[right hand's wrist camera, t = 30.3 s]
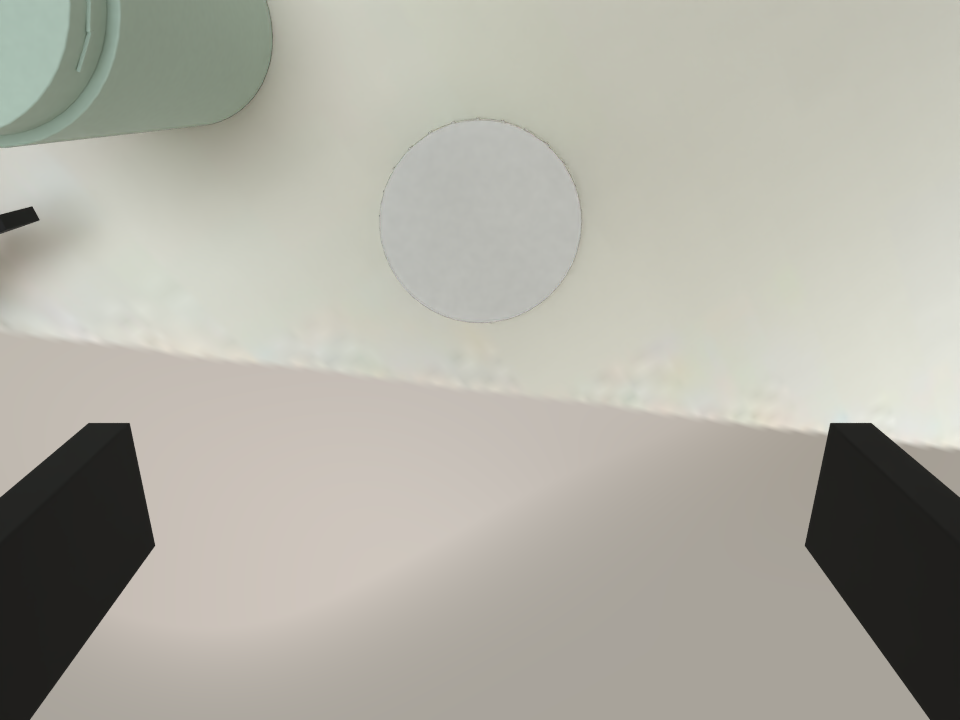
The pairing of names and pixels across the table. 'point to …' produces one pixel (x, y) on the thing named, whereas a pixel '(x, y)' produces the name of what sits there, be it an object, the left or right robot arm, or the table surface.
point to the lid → (480, 221)
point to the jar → (126, 65)
